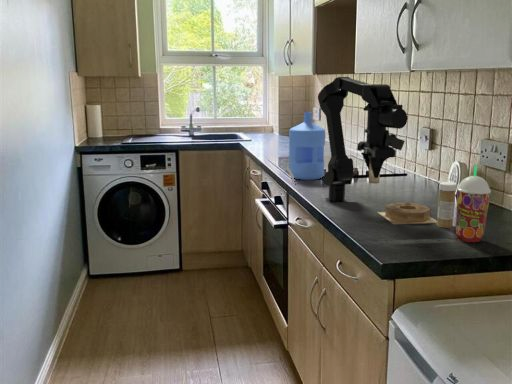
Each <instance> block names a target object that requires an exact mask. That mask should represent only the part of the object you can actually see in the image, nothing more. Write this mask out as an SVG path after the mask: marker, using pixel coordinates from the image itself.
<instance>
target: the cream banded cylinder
mask: <svg viewBox="0 0 512 384" xmlns="http://www.w3.org/2000/svg"><path fill="white" fill-rule="evenodd" d="M380 174H381V173H380ZM380 174H379V176H378V178H374V175H373V171H372V168H371V164H370V166H369V170H368V183H369V184H374V185H375V184H379V183H380V180H381V179H380V178H381V175H380Z"/></svg>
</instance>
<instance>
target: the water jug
mask: <svg viewBox="0 0 512 384" xmlns="http://www.w3.org/2000/svg"><path fill="white" fill-rule="evenodd" d="M303 114H304V115H303V122H302V123H300V124H297V125H296V126H293V127H291V128H290V129H289V134H288V138H289V139H288V140H289V144H288V146H289V147H288V170H289V171H290V173H291V175H292V177H293V179H294V178H295V179H294V180H299V179H300V180H303V181H314V180H320V178H321V179H323V178H322V177H323V176H325V159H324V156H325V155H324V154H325V151H324V150H325V145H326V129H325V128H323V127H321V126H320V125H317V124H316V123H313V122H312V112H309V111H308V112H304V113H303Z"/></svg>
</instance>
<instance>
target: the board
mask: <svg viewBox="0 0 512 384" xmlns="http://www.w3.org/2000/svg"><path fill="white" fill-rule="evenodd" d="M385 212H386V211H377V213H378V214H379V215H380V216H382V217H383V218H384V219H386V220H387V221H388V222H389V223H391V224H393V225H413V224H414V225H415V224H437V220H436V219H435V218H433V217H431V216H430V219H428V220H427V221H425V222H415V223H406V222H400V221H395V220H391V219H389V218H388V217H387V216H385Z"/></svg>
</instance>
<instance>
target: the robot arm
mask: <svg viewBox="0 0 512 384" xmlns="http://www.w3.org/2000/svg"><path fill="white" fill-rule="evenodd" d="M349 93H351V94H354V95H357V96H360V97H361V99H362V101H364V102H365V103H367V105H366V106H365V107H363V111H365V112H367V119H366V120H367V123H366V128H365V129H364V133H366V140H365V141H363V140H360V141H359V142H358V143H357V147H356V150H357V151H359V152H361V151H363V152H361V155H362V158H363V160H364V162H365V164H366V166H367V170H368V171H369V166H370V164H371V168H372V171H373V175H374V178H378V176H379V174H381V171H382V167H383V165H384V163H385V162H386V161H387V160H388V159H390V158H396V155H397V154H396V153H397V150H398V151H402V149H403V147H404V145H405V142H406V141H405V139H402V138H401V139H400V138H398V137H397V134H394V133H391V132H390V131H389V130H388V129H389V128H390V129H396V130H398V129H403V128H404V127H405V126H406V124H407V122H408V114H407V112H406V110H405V109H403V106H404V105H403V104H398V102H397V100H396V98H395V96H394V94H393V91H392V90H391V86H390V85H389V84H385V83H382V84H380V83H379V84H378V83H376V84H375V83H374V84H373V83H368V82H364V81H361V80H357V79H354V78H351V77H349V76H337V77H335V78H334V79H333V81H331V82H330V83H328V84H327V85H325V86H324V87H323V88H322V89H321V90H320V91H319V92H318V94H317V100H318V104H319V108H320V110H321V112H323V114H324V115H325V119H326V125H327V133H328V134H327V135H328V142H329V149H330V159H329V161H328V163H327V171H326V172H325V173H324V177H323V178H322V183H323V185H325V186H328V197H326V198H325V201H327V203H335V204H336V203H349V202H348V200H346V185H351V184H352V181H353V178H354V176H355V172H354V171H355V168H354V167H355V166H354V160H353V158H349V157H348V156H347V153H346V146H345V140H344V139H345V138H344V130H343V125H342V117H341V116H342V115H341V112H342V110H343V108H344V105H345V104H344V102H345V101H344V100H345V99H346V98H347V97H348V95H349Z"/></svg>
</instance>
